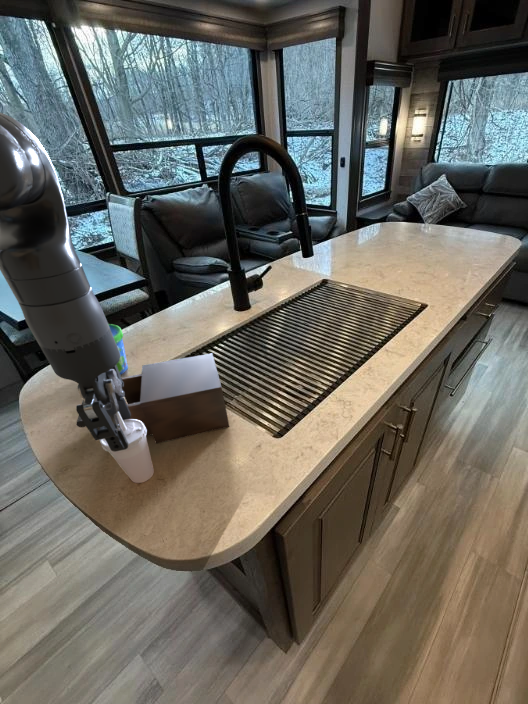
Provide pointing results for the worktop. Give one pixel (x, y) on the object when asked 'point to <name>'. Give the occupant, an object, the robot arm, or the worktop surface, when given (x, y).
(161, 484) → the worktop surface
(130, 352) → the worktop surface
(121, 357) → the snack cup
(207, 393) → the cabinet
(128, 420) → the smoothie
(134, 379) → the drawer
